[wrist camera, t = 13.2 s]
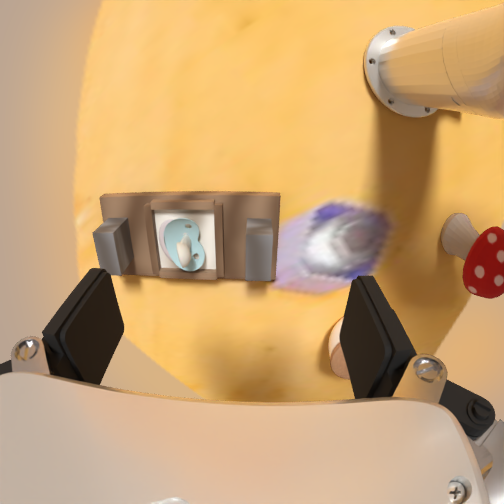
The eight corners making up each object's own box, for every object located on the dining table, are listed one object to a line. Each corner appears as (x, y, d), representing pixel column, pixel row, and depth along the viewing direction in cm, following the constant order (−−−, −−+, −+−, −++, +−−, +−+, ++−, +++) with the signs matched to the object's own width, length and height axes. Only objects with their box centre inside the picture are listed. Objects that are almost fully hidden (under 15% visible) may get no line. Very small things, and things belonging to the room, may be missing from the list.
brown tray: (279, 192, 38) (283, 210, 32) (274, 273, 44) (277, 301, 38) (104, 194, 38) (81, 210, 32) (117, 268, 44) (100, 292, 38)
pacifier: (168, 265, 42) (209, 260, 41) (155, 290, 36) (200, 286, 35) (154, 216, 38) (197, 209, 38) (136, 237, 33) (185, 230, 32)
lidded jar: (332, 297, 46) (345, 339, 37) (391, 301, 46) (412, 339, 38) (316, 346, 51) (324, 388, 42) (370, 347, 51) (384, 386, 43)
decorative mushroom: (440, 196, 37) (503, 242, 24) (479, 205, 38) (539, 248, 24) (423, 257, 42) (471, 316, 29) (461, 260, 42) (510, 313, 29)
